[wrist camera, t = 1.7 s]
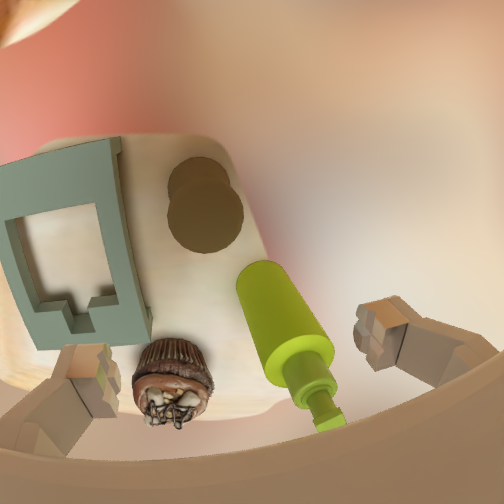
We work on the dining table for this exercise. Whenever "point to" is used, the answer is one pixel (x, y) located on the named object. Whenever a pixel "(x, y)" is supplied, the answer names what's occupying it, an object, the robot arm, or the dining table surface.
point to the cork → (203, 206)
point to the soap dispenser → (290, 341)
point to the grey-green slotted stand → (113, 234)
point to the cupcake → (171, 383)
